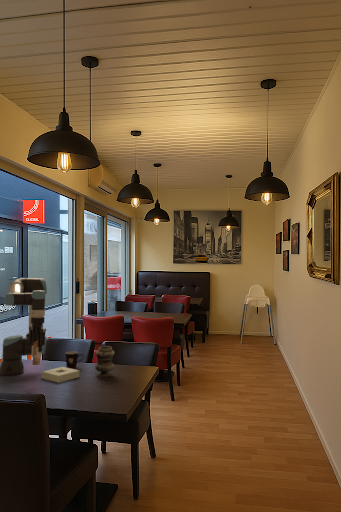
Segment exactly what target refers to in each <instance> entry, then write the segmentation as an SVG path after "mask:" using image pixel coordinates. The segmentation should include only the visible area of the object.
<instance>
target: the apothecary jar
mask: <svg viewBox="0 0 341 512" xmlns="http://www.w3.org/2000/svg"><path fill="white" fill-rule="evenodd" d="M95 356H96V358H97V361H96V364H95V365H94V368H95V370H96V371H97V372H99V373H97V374H96V377H97V378H101V379H102V378H103V379H107V378H110V377H112V376H113V374H112V373H110V372H112V371H113V370H114V369H115V365H114V363H113V357H114V356H115V351H114V350H113V347H112V346H110V345H104V346H103V345H102V346H99V347H98V350H97V351H96V352H95Z"/></svg>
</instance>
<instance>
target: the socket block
mask: <svg viewBox="0 0 341 512" xmlns="http://www.w3.org/2000/svg"><path fill="white" fill-rule="evenodd" d="M79 377H80V369H79V370H78V369H75V368H67V366H60V367H55V368H52V369H51V368H50V369H47V370H43V371H41V379H43V380H47V381H51V382H54V383H58V384H59V383H62V382H66V381H70V380H74V379H76V378H79Z"/></svg>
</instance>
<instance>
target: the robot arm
mask: <svg viewBox="0 0 341 512" xmlns="http://www.w3.org/2000/svg"><path fill="white" fill-rule="evenodd" d="M47 291H48V287H47V281H46V278H41V277H20V278H16V279H15V280H13V281H10V283H9V285H8V292H7V293H6V292H5V295H4V305H5V306H10V307H13V306H28V332H27V333H26V334H25V337H24V336H23V335H21V334H20V335H19V334H18V335H17V334H16V335H11V336H7V337H4V339H3V340H2V341H3V342H2V354H1V357H2V360H1V364H0V375H1V376H15V375H21V374H23V373H24V372H25V367H24V364H23V361H22V360H23V356H26V357H27V356H31V357H32V358H33V342H35V341H37V342H38V346H37V355H36V358H40V359H41V358H42V355H43V354H45V350H46V344H47V336H46V332H47V328H45V327H44V324H45V319H46V318H45V315H46V312H45V311H46V309H45V308H46V295H47V293H48V292H47Z"/></svg>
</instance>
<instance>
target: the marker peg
mask: <svg viewBox="0 0 341 512" xmlns="http://www.w3.org/2000/svg"><path fill="white" fill-rule="evenodd" d="M37 346H38V342H37V341H35V342H33V357H32V365H33V366H39V365H40V364H41V357H40V358H36V355H37Z"/></svg>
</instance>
